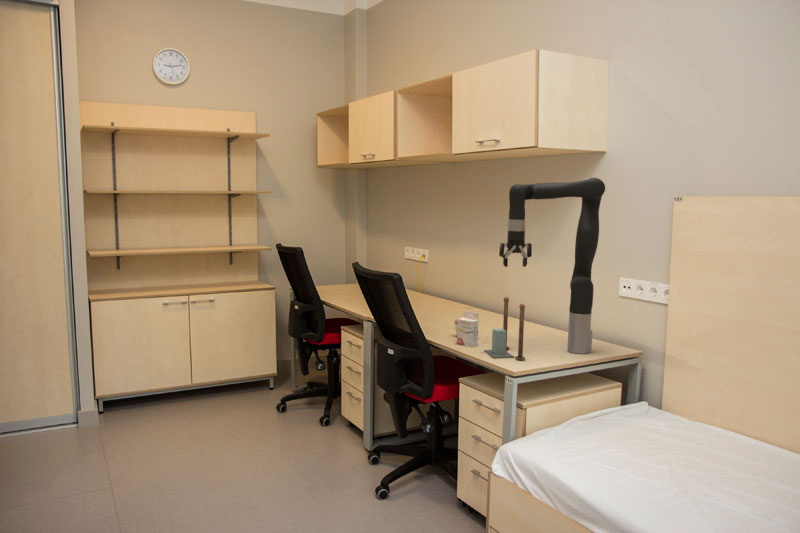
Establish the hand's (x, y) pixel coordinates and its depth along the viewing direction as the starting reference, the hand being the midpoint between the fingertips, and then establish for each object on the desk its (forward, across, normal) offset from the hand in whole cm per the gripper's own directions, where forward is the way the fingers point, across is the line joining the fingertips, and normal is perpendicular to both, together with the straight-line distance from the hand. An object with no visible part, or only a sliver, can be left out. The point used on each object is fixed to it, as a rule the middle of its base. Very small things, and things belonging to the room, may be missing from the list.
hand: (515, 266), depth 266 cm
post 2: (+36, +5, +22) cm, 43 cm away
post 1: (+36, +5, +4) cm, 37 cm away
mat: (+36, +11, +13) cm, 40 cm away
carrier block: (+36, +11, +13) cm, 39 cm away
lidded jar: (+36, +15, -22) cm, 45 cm away
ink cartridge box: (+36, +19, -6) cm, 41 cm away
